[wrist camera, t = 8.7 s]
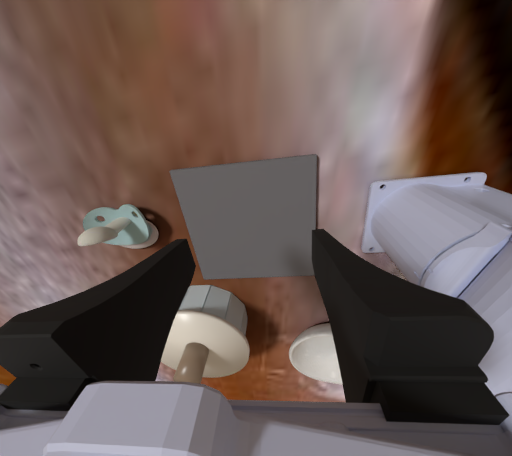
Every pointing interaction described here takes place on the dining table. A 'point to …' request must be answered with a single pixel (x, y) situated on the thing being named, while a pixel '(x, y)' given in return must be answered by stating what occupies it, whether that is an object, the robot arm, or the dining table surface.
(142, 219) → the pacifier
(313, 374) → the spoon rest
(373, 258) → the dining table surface
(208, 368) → the lid
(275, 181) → the mat
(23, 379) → the robot arm
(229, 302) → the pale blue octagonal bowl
